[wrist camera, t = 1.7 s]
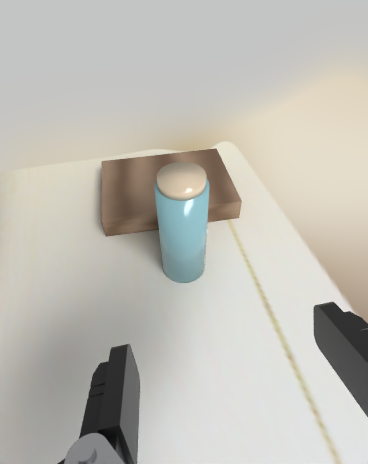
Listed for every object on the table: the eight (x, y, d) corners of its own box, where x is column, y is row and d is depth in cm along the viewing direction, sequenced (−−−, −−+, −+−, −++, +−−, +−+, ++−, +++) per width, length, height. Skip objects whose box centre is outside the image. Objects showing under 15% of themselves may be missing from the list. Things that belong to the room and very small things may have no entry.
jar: (155, 275, 35) (143, 186, 26) (172, 244, 38) (167, 155, 29) (196, 288, 34) (198, 199, 25) (210, 255, 37) (217, 166, 28)
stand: (106, 236, 40) (101, 220, 37) (105, 177, 48) (101, 161, 46) (238, 217, 42) (241, 201, 39) (215, 164, 50) (216, 148, 48)
